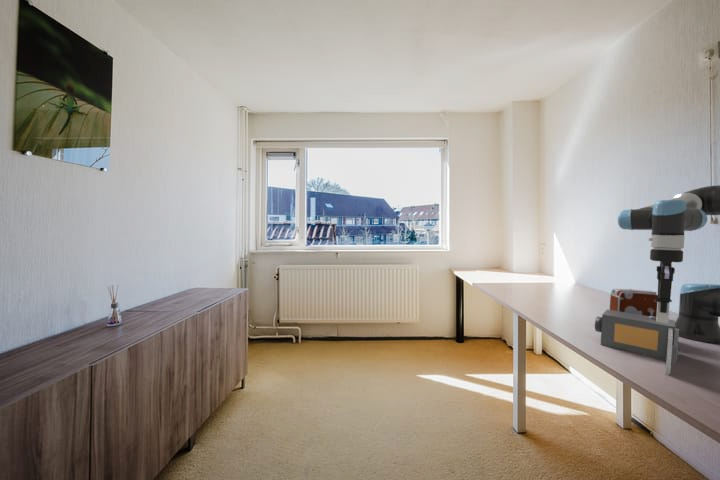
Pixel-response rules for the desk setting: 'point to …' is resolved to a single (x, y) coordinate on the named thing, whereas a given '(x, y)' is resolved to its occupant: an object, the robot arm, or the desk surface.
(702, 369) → the desk surface
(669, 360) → the side door
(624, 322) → the grey cabinet with knob
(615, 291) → the cine camera
